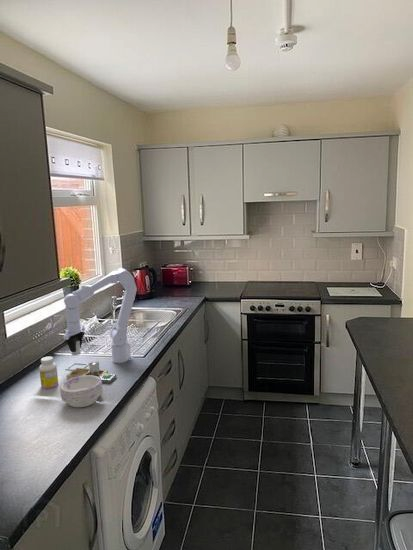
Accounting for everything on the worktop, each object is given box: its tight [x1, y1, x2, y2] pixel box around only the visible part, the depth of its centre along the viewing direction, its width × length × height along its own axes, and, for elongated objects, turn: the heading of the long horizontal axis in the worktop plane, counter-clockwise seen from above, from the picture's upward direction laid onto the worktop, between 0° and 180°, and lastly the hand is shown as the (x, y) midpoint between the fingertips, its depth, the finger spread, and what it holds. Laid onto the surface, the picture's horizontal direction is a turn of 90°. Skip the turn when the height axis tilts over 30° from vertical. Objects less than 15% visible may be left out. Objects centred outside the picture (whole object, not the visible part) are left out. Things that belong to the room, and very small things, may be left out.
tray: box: [65, 362, 90, 371], centre depth 196 cm, size 8×8×1 cm
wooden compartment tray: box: [66, 367, 109, 380], centre depth 185 cm, size 8×15×2 cm, turn 76°
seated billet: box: [88, 361, 101, 377], centre depth 184 cm, size 4×4×6 cm
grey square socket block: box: [100, 373, 117, 384], centre depth 180 cm, size 6×6×2 cm
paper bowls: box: [59, 375, 103, 408], centre depth 163 cm, size 15×15×8 cm
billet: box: [70, 340, 82, 356], centre depth 194 cm, size 4×4×6 cm
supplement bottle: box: [39, 356, 59, 390], centre depth 176 cm, size 7×7×13 cm
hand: (75, 349), depth 194 cm, fingers closed on billet, 4 cm apart
